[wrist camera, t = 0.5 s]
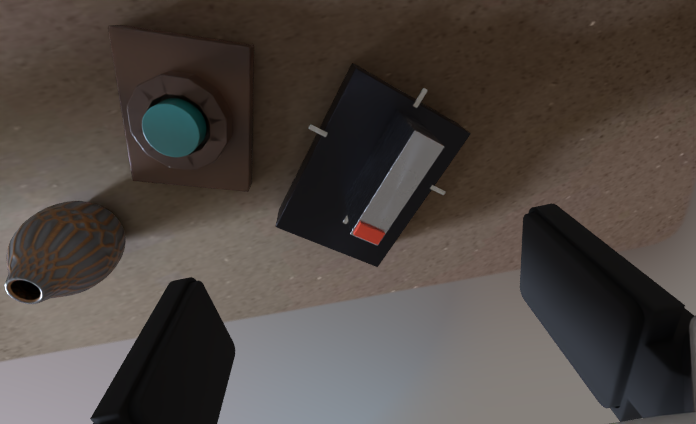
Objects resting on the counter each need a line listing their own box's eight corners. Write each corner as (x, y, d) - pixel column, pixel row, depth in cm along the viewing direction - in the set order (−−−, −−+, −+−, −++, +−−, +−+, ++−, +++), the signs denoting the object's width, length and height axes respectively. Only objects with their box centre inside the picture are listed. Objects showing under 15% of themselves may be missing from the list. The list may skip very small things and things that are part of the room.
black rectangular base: (346, 40, 26) (349, 43, 23) (475, 117, 29) (492, 128, 26) (267, 205, 32) (262, 223, 29) (382, 252, 35) (388, 272, 32)
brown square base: (120, 24, 24) (91, 26, 21) (254, 45, 25) (245, 49, 22) (141, 172, 29) (121, 190, 26) (252, 183, 31) (244, 202, 28)
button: (149, 94, 24) (137, 99, 22) (205, 101, 24) (197, 107, 22) (155, 145, 25) (145, 154, 24) (208, 151, 26) (201, 160, 24)
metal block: (396, 108, 25) (415, 131, 20) (421, 122, 26) (446, 147, 21) (344, 197, 28) (350, 236, 23) (368, 208, 29) (378, 248, 24)
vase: (53, 245, 32) (-30, 317, 24) (51, 179, 29) (-45, 237, 21) (135, 263, 34) (81, 335, 26) (140, 201, 31) (81, 263, 23)
